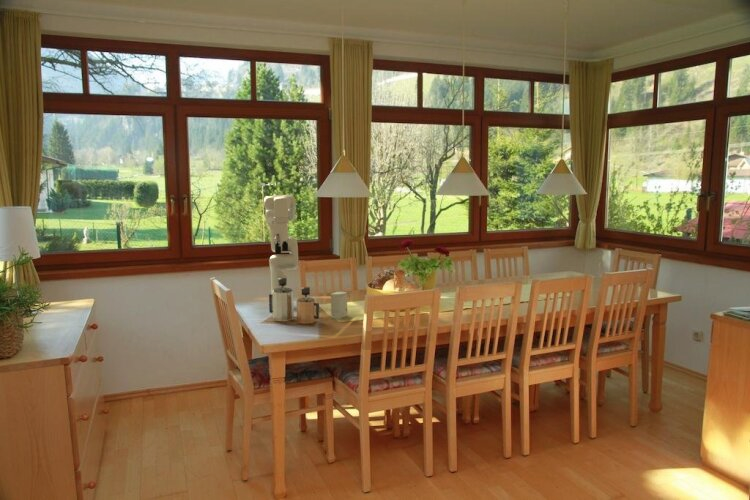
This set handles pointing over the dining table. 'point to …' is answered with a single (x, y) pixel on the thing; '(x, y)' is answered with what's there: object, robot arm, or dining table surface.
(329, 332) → the dining table surface
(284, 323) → the walnut board
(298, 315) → the copper press
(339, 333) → the dining table surface
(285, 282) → the steel plunger
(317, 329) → the dining table surface
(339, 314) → the skincare box
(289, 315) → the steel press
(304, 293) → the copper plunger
